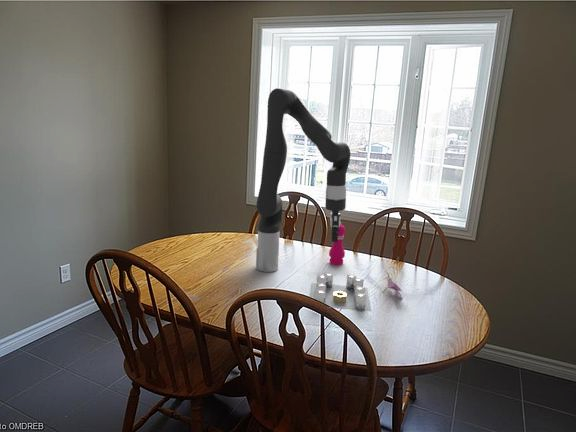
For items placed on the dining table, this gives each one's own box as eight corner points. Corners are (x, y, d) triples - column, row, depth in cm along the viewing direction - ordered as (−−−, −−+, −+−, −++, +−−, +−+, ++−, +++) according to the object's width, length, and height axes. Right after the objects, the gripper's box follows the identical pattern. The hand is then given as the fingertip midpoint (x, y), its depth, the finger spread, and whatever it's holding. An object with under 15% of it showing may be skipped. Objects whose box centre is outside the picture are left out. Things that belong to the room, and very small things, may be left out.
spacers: (314, 306, 143) (315, 293, 141) (316, 283, 162) (317, 271, 161) (365, 311, 141) (366, 298, 140) (361, 287, 161) (362, 275, 160)
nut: (333, 302, 146) (333, 296, 146) (333, 296, 152) (333, 290, 151) (346, 303, 146) (346, 297, 145) (345, 297, 151) (346, 291, 151)
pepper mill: (343, 266, 185) (347, 224, 180) (327, 264, 186) (330, 222, 182) (344, 261, 192) (348, 220, 187) (329, 259, 193) (332, 218, 188)
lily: (398, 308, 149) (412, 285, 149) (370, 290, 152) (383, 268, 152) (397, 303, 161) (409, 283, 161) (370, 287, 164) (383, 267, 163)
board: (305, 324, 132) (305, 321, 132) (311, 285, 163) (311, 282, 163) (374, 331, 130) (374, 328, 130) (366, 290, 161) (367, 287, 161)
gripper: (325, 193, 160) (324, 233, 163) (325, 200, 146) (324, 243, 150) (345, 193, 159) (343, 233, 163) (346, 200, 145) (345, 244, 149)
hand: (334, 238), depth 156 cm, fingers open, 8 cm apart
